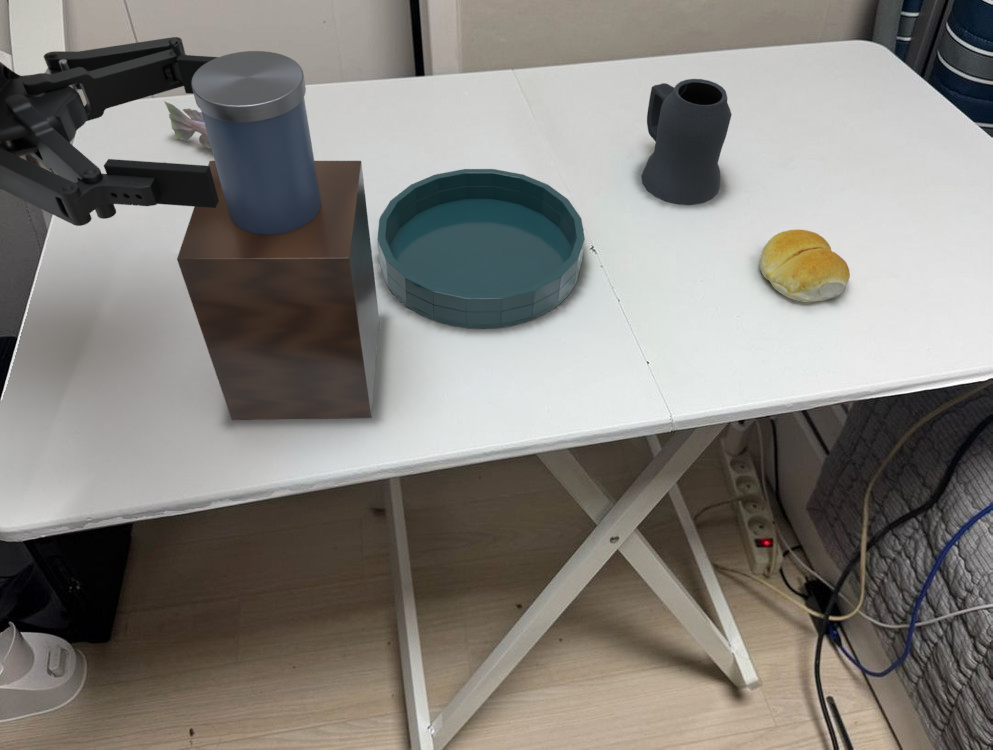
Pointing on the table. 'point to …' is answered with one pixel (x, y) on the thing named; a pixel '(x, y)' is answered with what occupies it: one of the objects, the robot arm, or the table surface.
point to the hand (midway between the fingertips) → (243, 129)
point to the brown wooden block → (289, 305)
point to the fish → (188, 124)
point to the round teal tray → (480, 248)
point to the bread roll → (803, 266)
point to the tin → (260, 139)
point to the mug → (686, 140)
